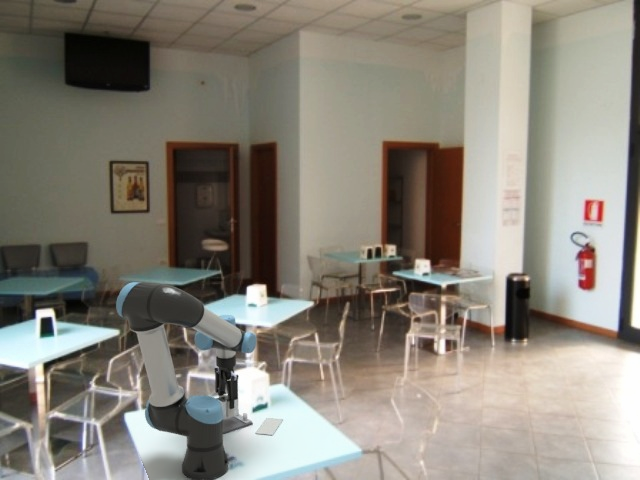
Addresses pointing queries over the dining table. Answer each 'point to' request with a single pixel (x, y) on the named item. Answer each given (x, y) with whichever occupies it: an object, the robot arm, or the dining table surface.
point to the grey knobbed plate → (236, 423)
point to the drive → (224, 406)
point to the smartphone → (269, 426)
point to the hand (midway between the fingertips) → (226, 413)
